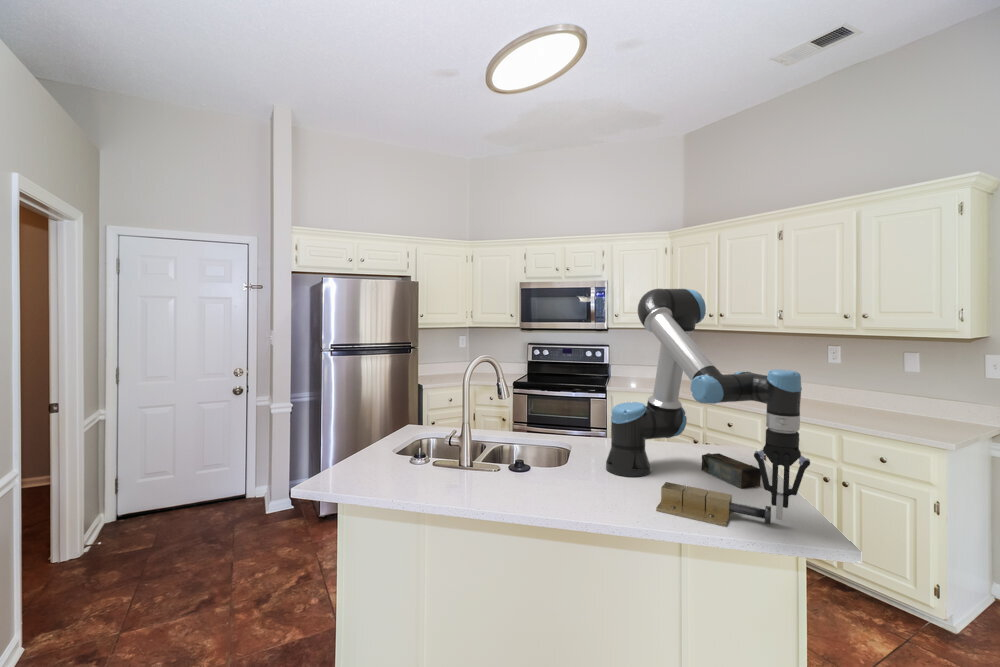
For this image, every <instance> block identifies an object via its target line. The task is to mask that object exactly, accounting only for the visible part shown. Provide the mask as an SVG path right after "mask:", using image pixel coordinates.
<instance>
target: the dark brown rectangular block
mask: <svg viewBox="0 0 1000 667" xmlns="http://www.w3.org/2000/svg"><path fill="white" fill-rule="evenodd" d="M700 466H701V468H700V470H701V471H702V472H704V473H706V474H708V475H710V476H712V477H715V478H717V479H720V480H721V481H724V482H726V483H729V484H731V485H733V486H735V487H738V488H739V489H750V488H751V489H752V488H760V487H761V481H762V478H761V473H760V469H759V467H756V466H754V465H751V464H748V463H745V462H743V461H739V460H737V459H735V458H732V457H730V456H726V455H724V454H721V453H710V452H708V453H705V454H701V465H700Z"/></svg>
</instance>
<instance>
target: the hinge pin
mask: <svg viewBox="0 0 1000 667" xmlns="http://www.w3.org/2000/svg"><path fill="white" fill-rule="evenodd" d="M729 511H730V512H732V513H736V514H739V515H740V514H741V515H746V516H751V517H755V518H758V519H759V518H760V519H764V524H769V525H771V521H772V520H771V519H772V506H769V505H765V508H761V507H755V506H751V505H747V504H740V503H735V502H732V503H731V502H730V508H729Z"/></svg>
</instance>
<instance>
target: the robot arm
mask: <svg viewBox="0 0 1000 667" xmlns="http://www.w3.org/2000/svg"><path fill="white" fill-rule="evenodd" d="M706 311H707V305H706V302H705V300H704V298H703V296H702V295H701V293H700V292H698V291H697V290H695V289H689V288H654V289H651V290H649V291H647V292H646V293H644V294H643V295H642V296H641V298H640V299H639V302H638V305H637V315H638V319H639V321H640V323H641V324H642V326H643V328H644V329H645V330H646V331H648V332H649V333H652V334H654V336H655V337H656V339H658V341H659V342H660V347H659V355H658V361H657V367H656V374H655V380H654V385H653V387H654V388H653V392H652V395H650V396H649V397H648V398H647V404H645V403H643V402H637V401H634V402H633V401H632V402H629V401H628V402H621V403H619V404H616V405H615V406H613V408H612V410H611V418H610V422H611V426H610V428H611V432H610V433H611V436H610V437H611V439H610V440H611V443H610V444H611V445H610V450H609V452H608V456H607V458H606V461H605V470H607V472H609V473H610V474H613V475H618V476H621V477H627V478H628V477H631V478H632V477H633V478H636V477H644V476H647V475H649V474H650V473H651V464H650V460H649V458H648V454H647V451H646V440H654V439H655V440H656V439H671V438H673V437H678V436H680V435H681V434H682V433H683V432H684V431H685V429H686V426H687V422H688V421H687V415H686V410H685V409H684V407H683V404H682V402H681V401H680V400H679V396H680V390H681V385H682V379H683V372H684V374H685V375H686V376H687V377H688V379H689V380H690V381H691V383H690V392H691V396H692V397H693V399H694V400H695V401H696V402H697V403H700V404H713V405H714V404H718V403H719V404H720V403H721V404H722V403H735V402H736V403H737V402H750V401H753V402H757V403H761V404H766V412H765V413H766V415H765V416H766V417H765V418H766V419H765V426H766V427H767V429H765V444H764V446H763V448H762V449H761V450H759V451H757V450H756V451H754V454H753V458H754V459H755V460H756V462H757V464H758V468H759V469H760V473H761V481H762V485H763V489H764V491H767V492H770V494H771V499H770V500H771V502H770V503H771V506H774V507H775V508H776V509H775V520H776V521H780V522H783V518H784V508H785V509H788V507H789V500H790V498H789V497H790V496H797V495H798V491H799V488H800V485H801V482H802V481H803V480H802V479H803V477H804V474H805V471H806V469H807V468H808V467H809V466H810V465H811V459H809V458H806V457H805V456H804V455H802V452H801V451H800V433H799V431H800V428H801V427H800V426H801V425H800V423H801V422H800V421H801V400H802V399H801V398H802V391H803V390H802V389H803V388H802V377H801V374H800V373H799V372H798V371H796V370H790V369H788V370H787V369H770V370H768V371H767V375H765V374H762V373H761V374H759V373H755V372H751V371H737V372H735V373H728V374H723V373H722V372H721V371H720V370H719V369H718V368H717V367H716V366H715V364H713V362H712V361H711V360H710V359H709V357H708V356H707V355H705V353H704V352H703V351H702V349H701V348H700V347H699V346H698V345H697V344H696V342H695V341H693V339H692V338H691V337H690V334H692V333H694V332H695V329H696V324H699V323H701V322H702V320H704V318H705V317H706V313H707V312H706ZM765 456H766V457H767V459H768V461H770V462H771V464H772V465H771V466H772V469H771V470H772V471H771V476H772V477H771V484H770V481H769V480H770V479H769V477H768V472H767V468H766V464H765V461H764V459H765ZM798 460H799V461H798ZM797 461H798V464H799V467H798V468H797V472H796V475H795V479H794V482H793V484H792V488H790V472H791V470H790V467H791V466H793V464H795V463H796V462H797ZM779 466H783V486H782V487H783V488H782V492H780V491H778V482H779Z"/></svg>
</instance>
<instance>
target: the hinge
mask: <svg viewBox="0 0 1000 667" xmlns="http://www.w3.org/2000/svg"><path fill="white" fill-rule="evenodd" d="M660 490H661V491H660V493H661V494H660V495H661V496H660V497H661V498H660V502H659V504H658V505H657V506H656V510H655V511H656V512H660V513H663V514H669V515H674V516H678V517H681V518H682V517H683V518H687V519H690V520H696V521H700V522H703V523H709V524H713V525H716V526H722V527H727V525H728V523H729V520H730V517H731V515H732V513H733V512H730V511H729V508H730V502H731V503H733V502H732V500H733V495H732V494H731V493H726V492H725V493H724V492H721V491H720V492H719V491H715V490H710V489H706V488H705V489H704V488H700V487H694V486H688V485H685V484H684V485H682V484H680V483H679V484H678V483H673V482H668V481H665V482H664V484H663V485H662V486H661V489H660Z"/></svg>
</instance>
